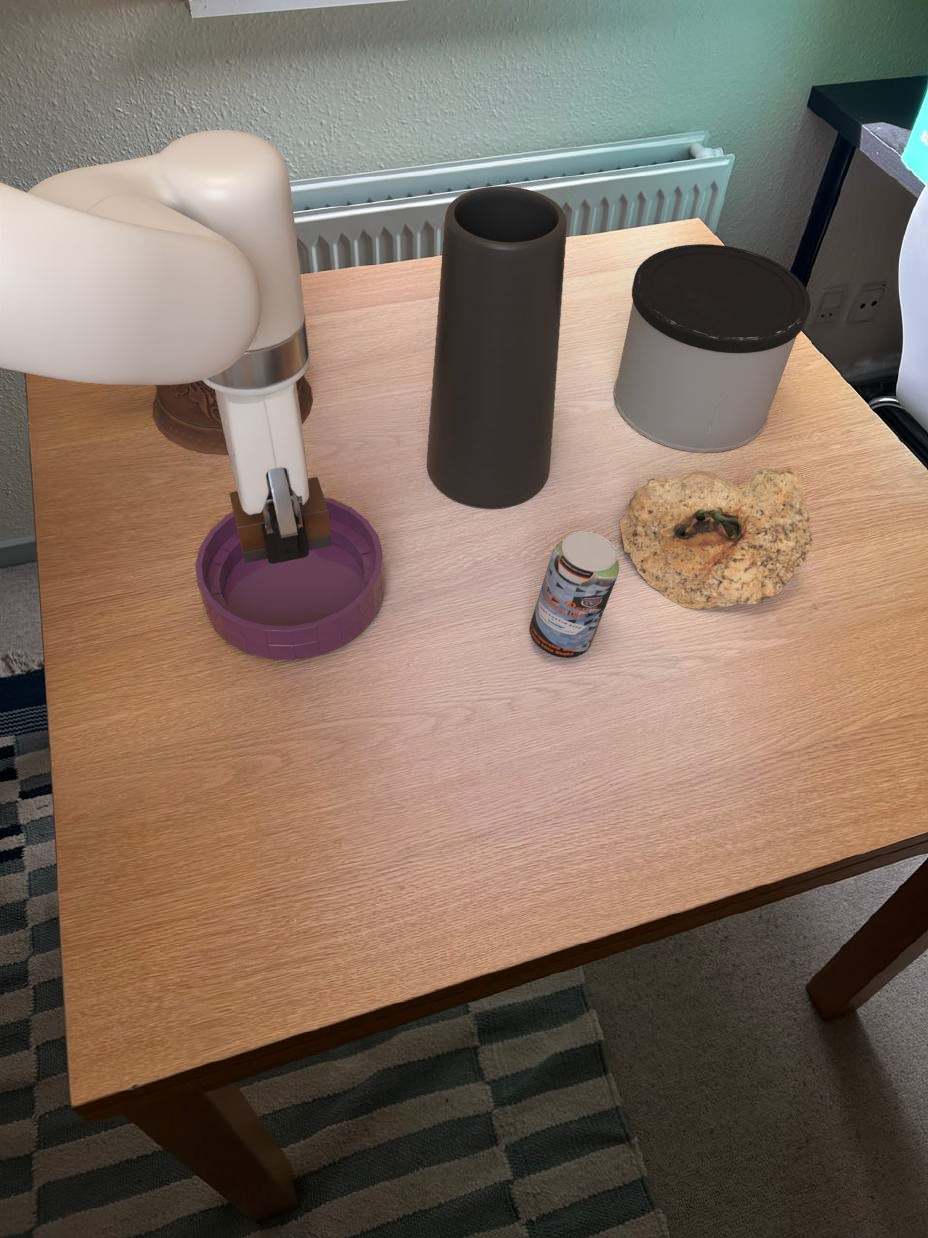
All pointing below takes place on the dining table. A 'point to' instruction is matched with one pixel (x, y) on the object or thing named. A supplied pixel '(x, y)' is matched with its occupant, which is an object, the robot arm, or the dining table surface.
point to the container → (707, 345)
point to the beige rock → (718, 536)
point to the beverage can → (574, 594)
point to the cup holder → (202, 414)
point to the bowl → (293, 589)
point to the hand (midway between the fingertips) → (282, 535)
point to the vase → (496, 346)
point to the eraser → (251, 524)
